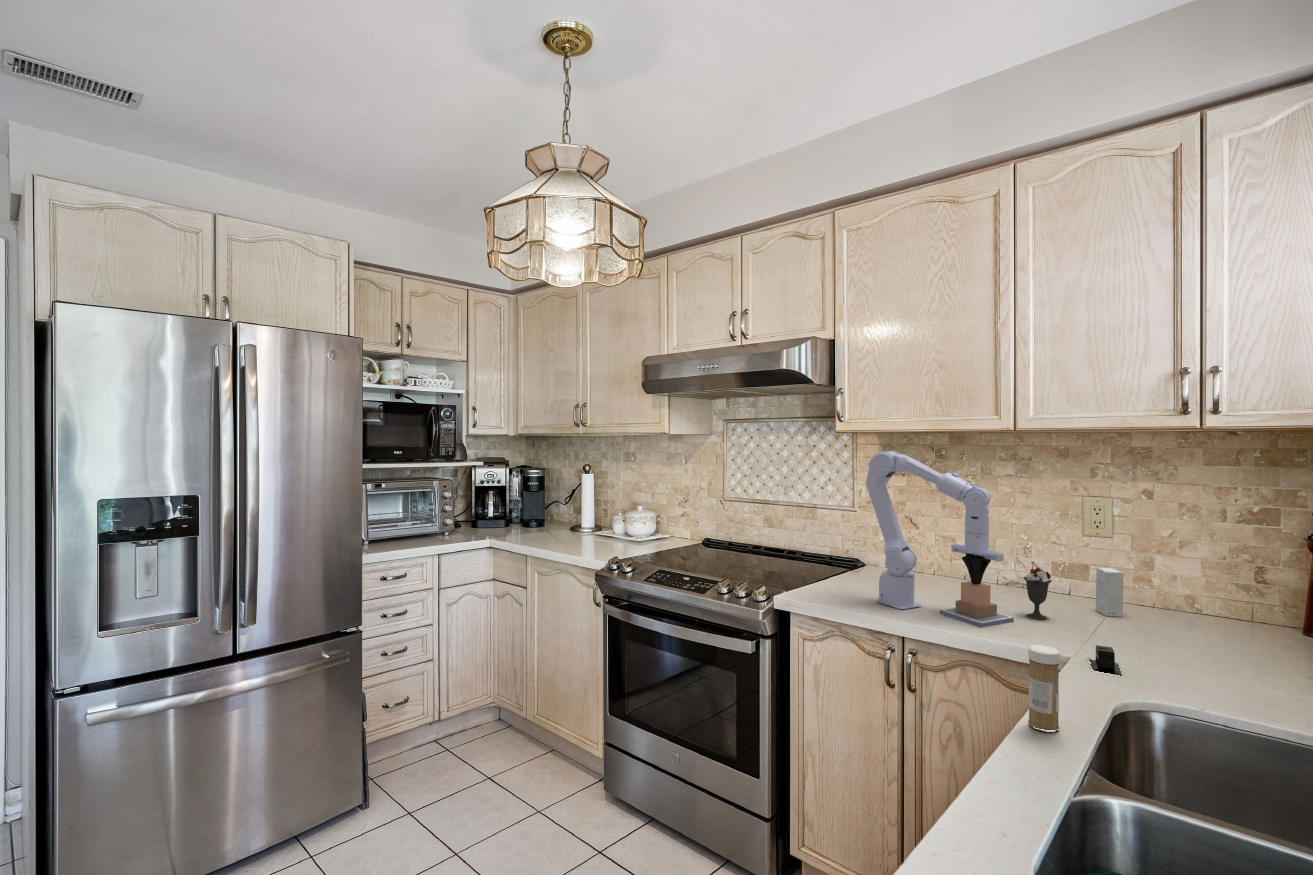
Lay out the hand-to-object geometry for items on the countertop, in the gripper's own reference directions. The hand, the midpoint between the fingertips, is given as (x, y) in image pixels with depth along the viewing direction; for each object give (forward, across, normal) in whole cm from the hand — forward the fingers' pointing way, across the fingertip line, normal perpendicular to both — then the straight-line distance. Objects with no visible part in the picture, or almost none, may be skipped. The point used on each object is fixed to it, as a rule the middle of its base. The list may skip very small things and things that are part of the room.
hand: (976, 583), depth 169 cm
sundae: (+9, +6, +15) cm, 19 cm away
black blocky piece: (+10, +36, -5) cm, 38 cm away
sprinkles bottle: (+9, +48, -43) cm, 66 cm away
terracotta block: (+5, 0, 0) cm, 5 cm away
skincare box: (+9, +12, +36) cm, 40 cm away
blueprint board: (+9, 0, 0) cm, 9 cm away
